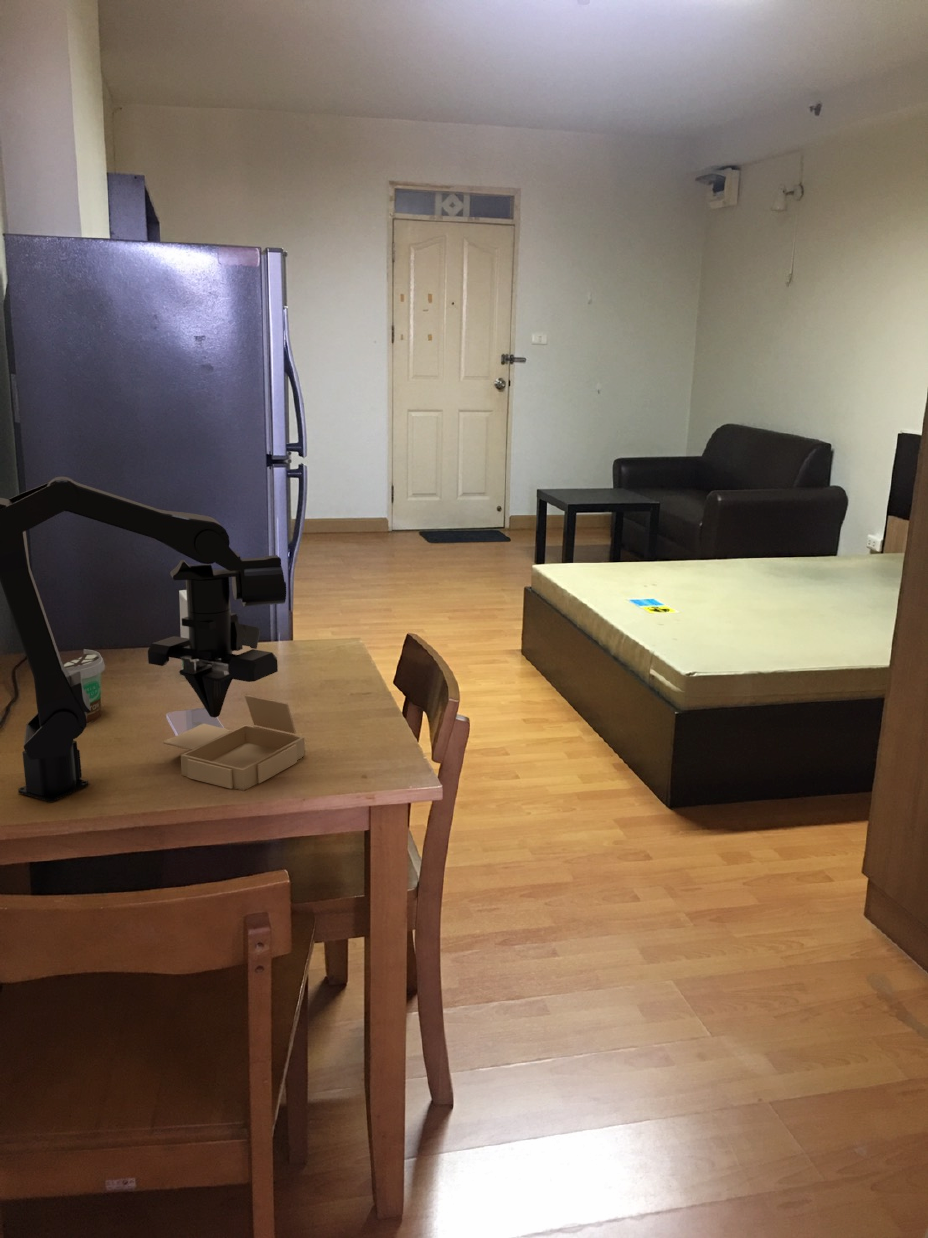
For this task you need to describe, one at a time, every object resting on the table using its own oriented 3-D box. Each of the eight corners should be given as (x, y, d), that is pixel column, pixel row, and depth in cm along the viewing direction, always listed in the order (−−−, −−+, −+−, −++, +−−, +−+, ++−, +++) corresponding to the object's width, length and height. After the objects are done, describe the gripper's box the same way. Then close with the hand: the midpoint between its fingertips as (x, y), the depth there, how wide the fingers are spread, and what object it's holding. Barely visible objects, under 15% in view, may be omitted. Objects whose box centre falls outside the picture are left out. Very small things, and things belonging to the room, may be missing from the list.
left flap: (192, 749, 138) (163, 741, 140) (192, 751, 138) (163, 743, 140) (232, 730, 145) (203, 723, 148) (232, 732, 145) (203, 725, 148)
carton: (244, 793, 131) (243, 772, 130) (178, 776, 136) (177, 756, 135) (307, 757, 143) (307, 738, 143) (245, 743, 148) (245, 724, 148)
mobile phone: (210, 705, 163) (230, 734, 150) (211, 710, 163) (231, 740, 150) (164, 711, 160) (180, 741, 147) (164, 716, 160) (180, 747, 147)
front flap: (295, 733, 144) (286, 704, 141) (254, 724, 147) (244, 695, 144) (296, 732, 144) (287, 703, 141) (255, 723, 147) (245, 694, 144)
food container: (81, 733, 151) (75, 672, 149) (45, 730, 152) (40, 669, 150) (123, 708, 163) (119, 650, 160) (90, 705, 164) (85, 648, 162)
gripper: (299, 604, 136) (303, 710, 140) (196, 590, 144) (202, 690, 148) (249, 622, 126) (254, 734, 130) (141, 605, 134) (149, 712, 138)
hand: (214, 716), depth 137 cm, fingers closed
